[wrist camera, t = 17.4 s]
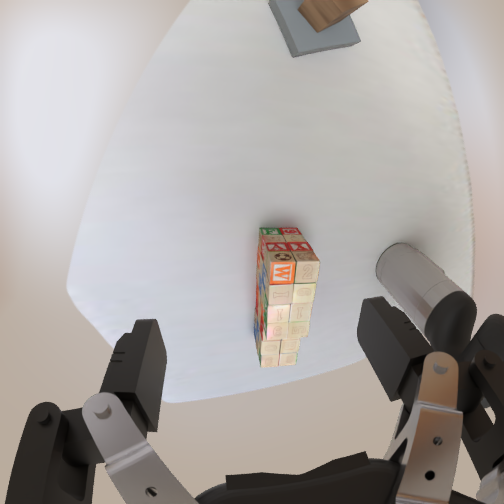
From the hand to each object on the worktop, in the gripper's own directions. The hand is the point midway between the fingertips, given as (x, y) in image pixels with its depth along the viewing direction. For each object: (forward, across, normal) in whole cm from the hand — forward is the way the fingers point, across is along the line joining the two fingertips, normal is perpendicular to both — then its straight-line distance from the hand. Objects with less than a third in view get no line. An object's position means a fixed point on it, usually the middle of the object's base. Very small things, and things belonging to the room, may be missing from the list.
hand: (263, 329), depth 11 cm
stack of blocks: (+34, -6, +20) cm, 40 cm away
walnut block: (+30, -13, -24) cm, 41 cm away
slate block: (+35, -13, -24) cm, 44 cm away
